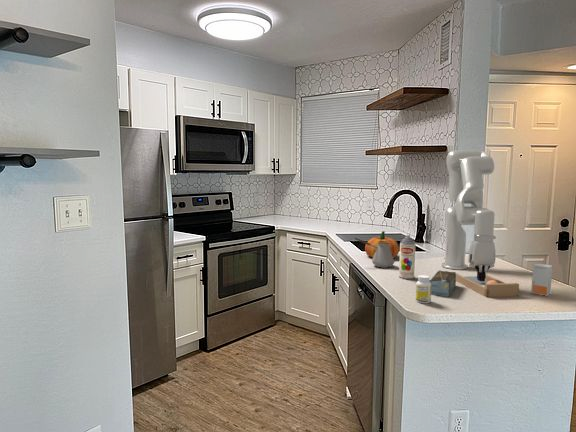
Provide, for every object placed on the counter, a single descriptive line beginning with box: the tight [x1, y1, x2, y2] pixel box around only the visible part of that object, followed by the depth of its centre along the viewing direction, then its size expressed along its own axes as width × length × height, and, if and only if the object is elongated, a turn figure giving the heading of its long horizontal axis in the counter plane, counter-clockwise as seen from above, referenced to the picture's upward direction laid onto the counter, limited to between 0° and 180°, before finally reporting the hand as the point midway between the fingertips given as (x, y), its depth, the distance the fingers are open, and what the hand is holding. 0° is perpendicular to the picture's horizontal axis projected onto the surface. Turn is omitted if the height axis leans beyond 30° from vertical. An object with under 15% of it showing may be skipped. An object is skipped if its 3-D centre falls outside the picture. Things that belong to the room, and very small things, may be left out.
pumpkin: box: [364, 231, 400, 259], centre depth 237 cm, size 19×19×15 cm
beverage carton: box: [429, 270, 457, 297], centre depth 172 cm, size 8×19×7 cm, turn 150°
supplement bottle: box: [415, 274, 432, 304], centre depth 156 cm, size 5×5×10 cm
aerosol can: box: [398, 234, 416, 280], centre depth 191 cm, size 7×7×20 cm
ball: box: [487, 280, 498, 284], centre depth 169 cm, size 5×5×5 cm
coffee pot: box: [353, 237, 395, 269], centre depth 214 cm, size 21×12×15 cm, turn 88°
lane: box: [456, 272, 520, 298], centre depth 176 cm, size 27×13×5 cm, turn 5°
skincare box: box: [530, 263, 553, 297], centre depth 167 cm, size 6×4×12 cm
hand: (481, 280), depth 178 cm, fingers closed
